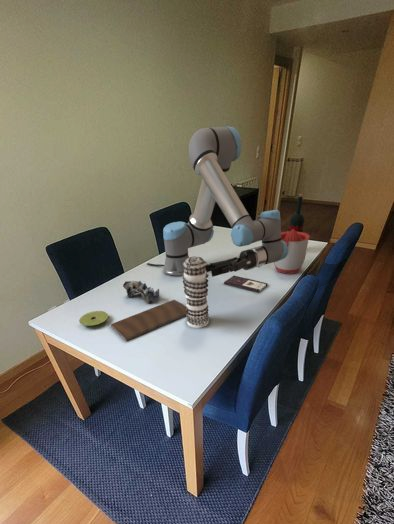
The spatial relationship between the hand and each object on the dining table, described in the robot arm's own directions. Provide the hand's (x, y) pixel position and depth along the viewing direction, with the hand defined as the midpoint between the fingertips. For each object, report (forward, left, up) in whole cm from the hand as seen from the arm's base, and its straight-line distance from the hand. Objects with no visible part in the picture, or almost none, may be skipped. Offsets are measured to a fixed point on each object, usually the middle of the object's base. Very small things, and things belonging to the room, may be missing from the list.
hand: (204, 272), depth 110 cm
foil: (-29, -13, -17) cm, 36 cm away
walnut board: (-9, -20, -17) cm, 28 cm away
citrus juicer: (-5, +57, -17) cm, 60 cm away
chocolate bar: (-7, +30, -17) cm, 35 cm away
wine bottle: (-20, +81, -17) cm, 85 cm away
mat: (-24, -38, -17) cm, 48 cm away
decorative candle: (+4, -7, -17) cm, 19 cm away
